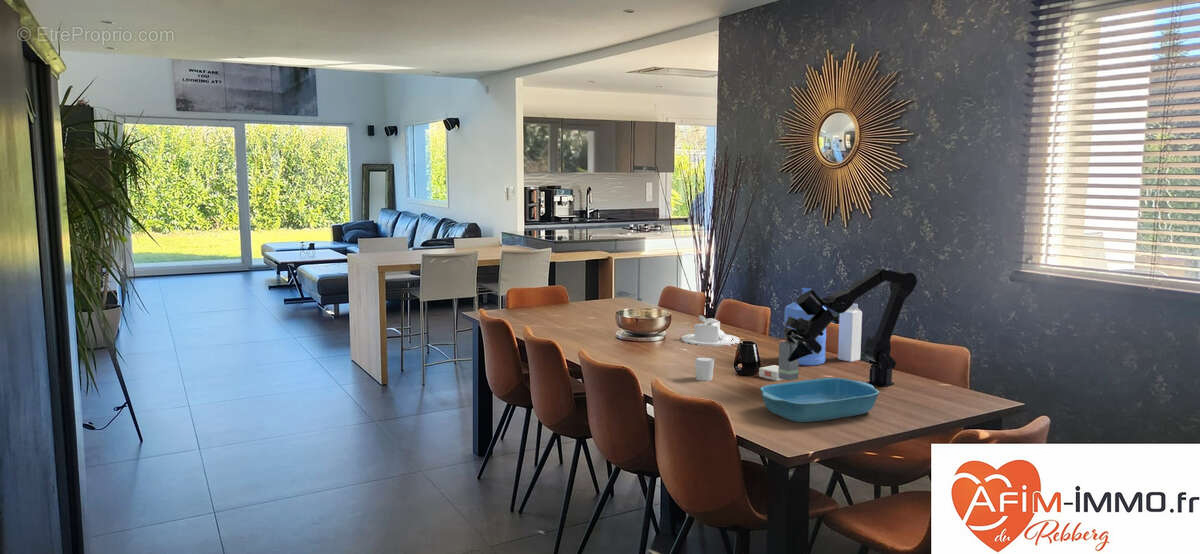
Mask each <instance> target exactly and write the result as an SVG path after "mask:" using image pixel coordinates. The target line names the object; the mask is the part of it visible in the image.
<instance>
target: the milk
mask: <svg viewBox="0 0 1200 554" xmlns="http://www.w3.org/2000/svg"><path fill="white" fill-rule="evenodd" d="M862 320H863V311H862V310H861V309H860V308H859V303H855V302H854V303H853V305H852V306H851V307H850V308H849V309H848V310H847V311H845V312H844V313H839V318H838V321H839V324H838V327H839V328H838V345H837V346H838V349H837V359H838V360H841V361H845V362H850V363H851V362H857V361H861V353H862V351H861V350H862V349H861V347H862V323H863V321H862Z"/></svg>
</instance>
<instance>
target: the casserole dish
mask: <svg viewBox="0 0 1200 554" xmlns="http://www.w3.org/2000/svg"><path fill="white" fill-rule="evenodd" d="M874 386H875V385H873V384H869V383H867V382H864V381H860V380H853V379H848V378H842V377H841V378H840V377H824V378H815V379H814V378H813V379H807V380H798V381H788V382H781V383H772V384H767V385H763V386H761V387H760V393H761V396H762V397H761V398H762V399H763V403H764V406H765V407H766V409H767V410H768V411H769V412H771V413H772V414H775V415H777V416H779V417H782V418H783V419H785V420H789V421H792V422H796V423H811V422H821V421H829V420H837V419H842V418H843V419H844V418H849V417H856V416H860V415H865V414H867V413H868V412H870V411H871V410H872V409H873V407H874V406H875V404H876V402H877V399H878V396H879V394H880V391H879V390H878V389H877V388H875V387H874Z"/></svg>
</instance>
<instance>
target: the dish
mask: <svg viewBox="0 0 1200 554" xmlns="http://www.w3.org/2000/svg"><path fill="white" fill-rule="evenodd" d="M698 317H699V320H700V321H701V322H703V323H695V324H694V333H690V334H689V333H688V334H685V335H683V336H681V341H682V342H683V341H684V343H685V342H686V343H685V344H688V343H690V344H689V345H693V344H697V345H696V346H700V345H710V346H709V347H723V346H722V345H728V346H732V345H731V344H734V345H738V344H739V343H740V342H741V339H740V337H738V336H735V335H731V334H726V333H725V331H723V330H722V329H720V328H721V321H719V320H718V319H716V318H711V317H710V318H709V317H708V318H706V317H705V316H703V315H698ZM719 337H720V338H719ZM732 339H733V340H732ZM731 340H732V341H731ZM735 343H737V344H735Z"/></svg>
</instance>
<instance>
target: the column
mask: <svg viewBox="0 0 1200 554" xmlns="http://www.w3.org/2000/svg"><path fill="white" fill-rule="evenodd" d="M797 344H798V343H797V342H792V341H786V340H785V341H781V342H780V341H779V342H778V366H779V369H778V372H779V378H780V379H783V380H785V381H788V382H791V381H793V380H794V381H795V380H797V379H799V372H800V369H799V366H800V365H799V359H796V360H794V361H791V362H789V361H788V358H789V357H790V355H791V354H792V353H793V351H794V350H795V349H796V347H797Z"/></svg>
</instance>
